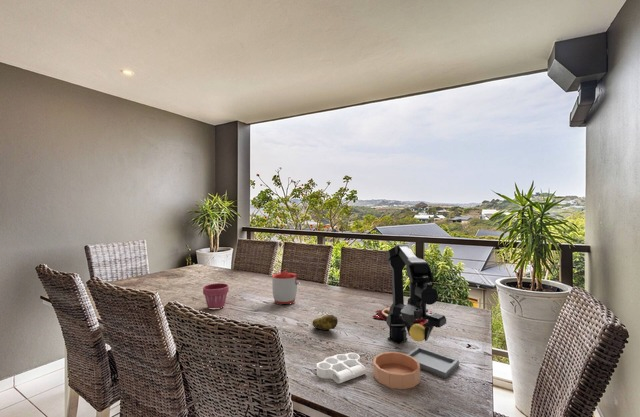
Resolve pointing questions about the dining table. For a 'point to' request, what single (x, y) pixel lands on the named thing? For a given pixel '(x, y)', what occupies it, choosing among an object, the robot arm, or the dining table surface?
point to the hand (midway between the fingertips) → (418, 338)
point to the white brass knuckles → (341, 367)
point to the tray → (434, 362)
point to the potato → (325, 322)
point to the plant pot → (215, 294)
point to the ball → (417, 332)
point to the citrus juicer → (284, 287)
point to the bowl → (396, 370)
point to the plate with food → (384, 313)
